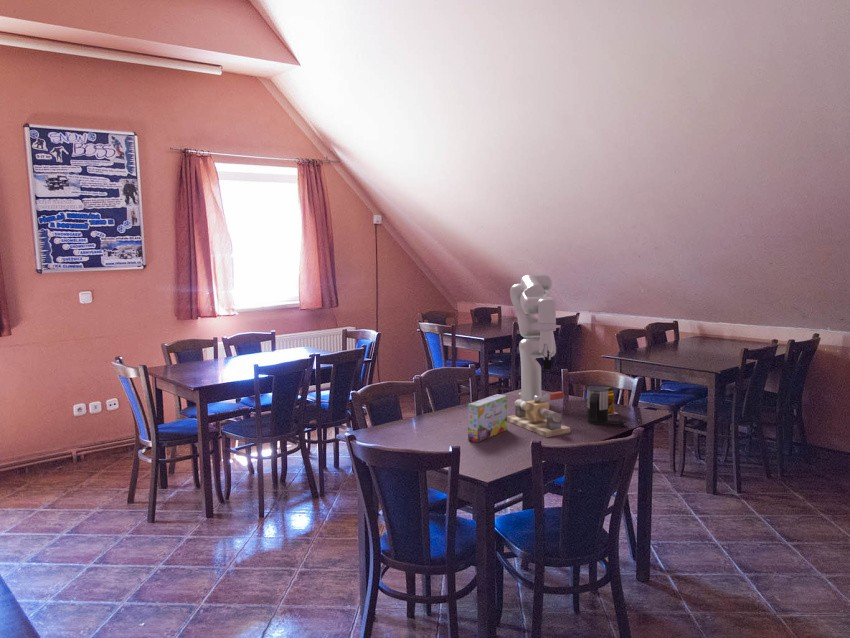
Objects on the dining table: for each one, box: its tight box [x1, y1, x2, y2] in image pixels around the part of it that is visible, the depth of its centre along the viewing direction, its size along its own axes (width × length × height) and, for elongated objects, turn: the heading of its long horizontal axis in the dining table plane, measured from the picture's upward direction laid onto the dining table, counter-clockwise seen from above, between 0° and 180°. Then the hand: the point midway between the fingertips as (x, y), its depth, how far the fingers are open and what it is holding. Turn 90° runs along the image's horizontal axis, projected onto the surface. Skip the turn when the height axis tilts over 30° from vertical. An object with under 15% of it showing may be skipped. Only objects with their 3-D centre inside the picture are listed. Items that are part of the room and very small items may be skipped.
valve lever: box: [534, 391, 564, 402], centre depth 272 cm, size 14×3×3 cm, turn 117°
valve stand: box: [507, 398, 571, 438], centre depth 270 cm, size 28×12×10 cm, turn 27°
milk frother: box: [586, 385, 627, 426], centre depth 271 cm, size 14×16×15 cm
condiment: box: [602, 385, 618, 416], centre depth 288 cm, size 7×8×12 cm
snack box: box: [467, 393, 508, 443], centre depth 260 cm, size 21×6×15 cm, turn 140°
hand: (547, 368), depth 277 cm, fingers closed
